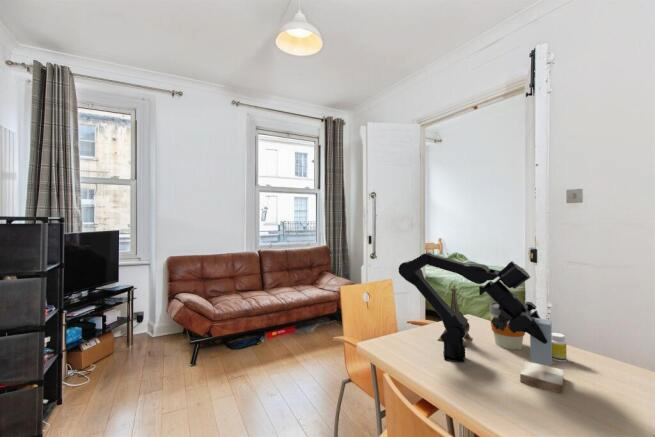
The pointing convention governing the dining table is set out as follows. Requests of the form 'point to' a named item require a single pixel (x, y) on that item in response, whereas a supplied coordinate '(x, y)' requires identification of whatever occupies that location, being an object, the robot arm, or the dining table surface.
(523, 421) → the dining table surface
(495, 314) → the reusable coffee cup
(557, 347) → the supplement bottle
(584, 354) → the dining table surface
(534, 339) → the slate block
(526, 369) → the plinth
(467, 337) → the eiffel tower
